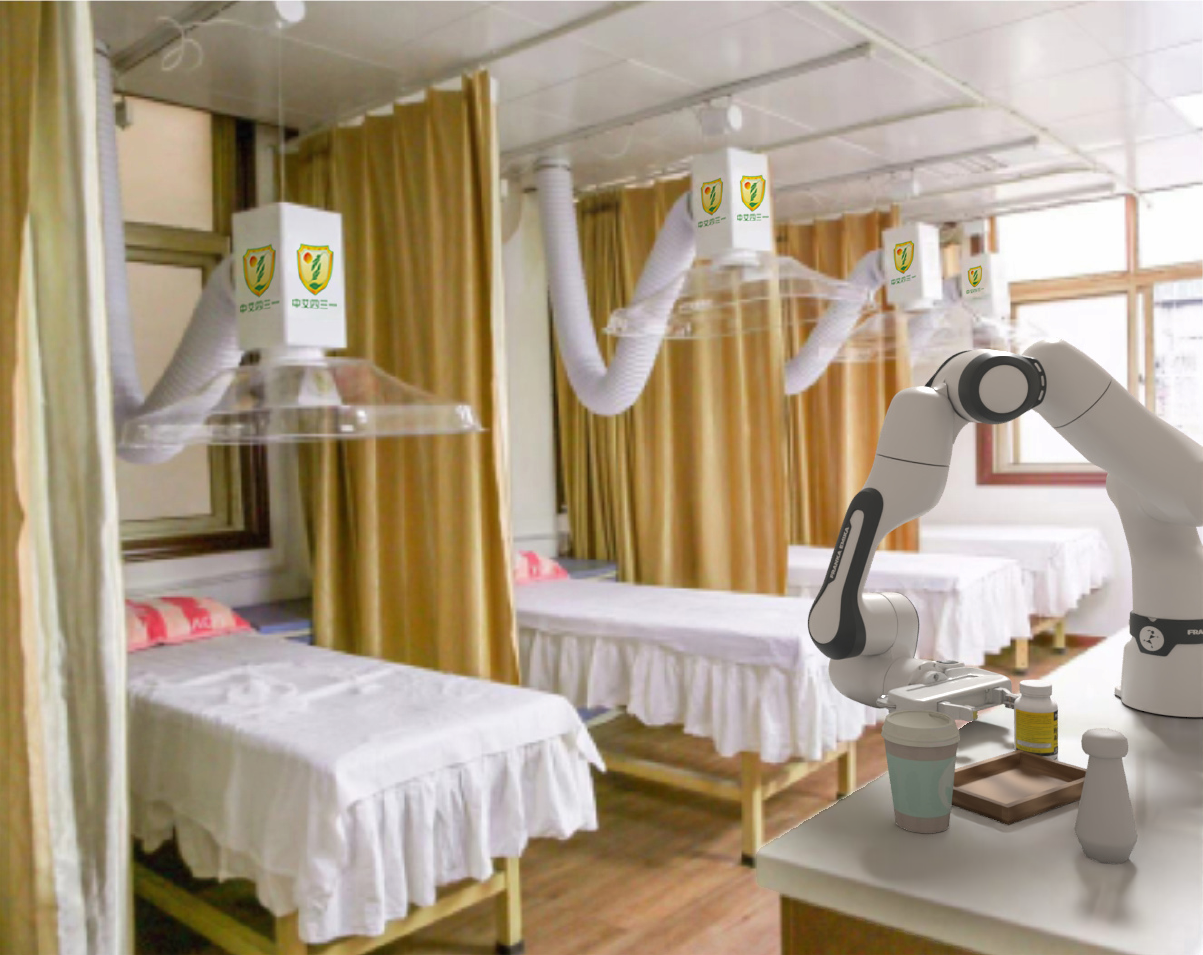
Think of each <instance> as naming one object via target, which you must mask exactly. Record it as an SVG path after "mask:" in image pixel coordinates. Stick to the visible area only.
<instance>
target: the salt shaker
mask: <svg viewBox="0 0 1203 955" xmlns="http://www.w3.org/2000/svg"><path fill="white" fill-rule="evenodd" d="M1080 742H1081V749H1082V752H1084V753H1085V754H1086V755H1088V760H1087V766H1086V769H1087V770H1086V775H1085V780H1084V784H1083V789H1082V794H1081V799H1080V800H1079V803H1078V804H1079V805H1078V808H1077V814H1076V820H1075V823H1074V827H1073V830H1074V835H1075V837H1076V838H1077V841H1078V842H1079V844H1080V846H1081V849H1082V851H1083V853H1084V855H1085V857H1086V858H1087V859H1091V860H1093V861H1095V862H1097V863H1100V864H1115V865H1121V864H1122V863H1124V862H1126V861H1127V860H1129V858H1130V856H1131V854H1132V852H1133V850H1134V848H1135V846H1136V843H1137V841H1138V833H1137V828H1136V822H1135V818H1134V813H1133V807H1132V802H1131V797H1130V792H1129V788H1128V781H1127V777H1126V772H1125V766H1124V761H1123V758H1125V757H1126V756H1127V755H1128V753H1129V740H1128V738H1127V737H1126V736H1125V735H1124V734H1123V733H1122V732H1121V731H1118V730H1116V729H1115V730H1114V729H1110V728H1104V727H1103V728H1101V727H1098V728H1097V727H1094V728H1090V729H1087V730H1086V731H1084V732H1083V734H1082V736H1081V741H1080Z"/></svg>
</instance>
